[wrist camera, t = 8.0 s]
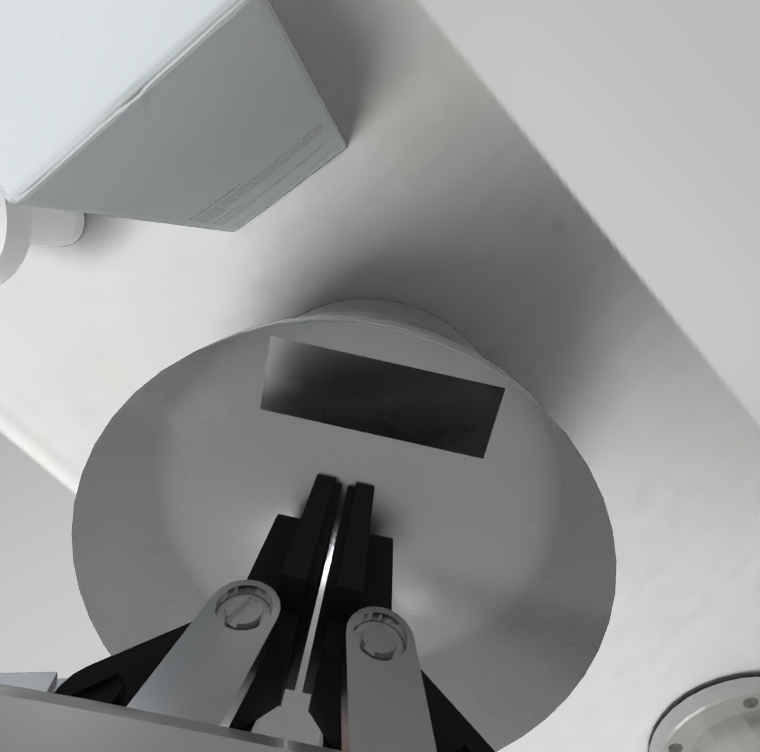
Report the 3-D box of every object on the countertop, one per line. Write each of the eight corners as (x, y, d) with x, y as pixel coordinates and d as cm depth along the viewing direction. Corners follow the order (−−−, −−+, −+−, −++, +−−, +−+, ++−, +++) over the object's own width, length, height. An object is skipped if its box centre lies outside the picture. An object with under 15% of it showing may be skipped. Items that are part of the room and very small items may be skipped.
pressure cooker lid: (677, 384, 12) (783, 435, 9) (507, 773, 16) (534, 906, 13) (114, 258, 12) (0, 260, 8) (99, 682, 16) (20, 794, 13)
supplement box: (258, -6, 19) (-10, -489, 7) (351, 150, 20) (269, -12, 8) (134, 99, 20) (-274, -141, 8) (229, 238, 22) (5, 213, 10)
